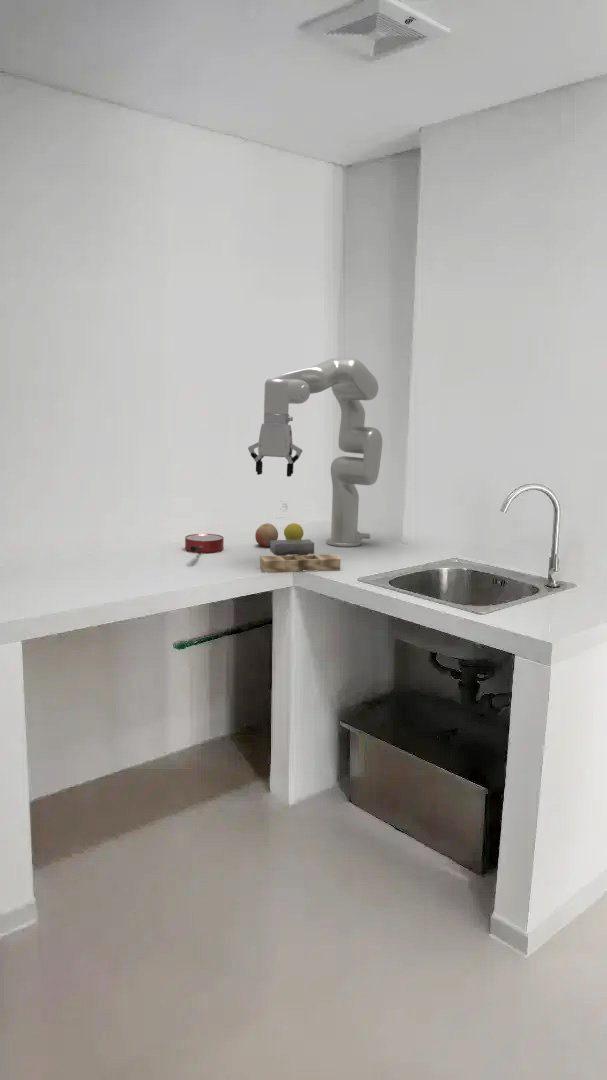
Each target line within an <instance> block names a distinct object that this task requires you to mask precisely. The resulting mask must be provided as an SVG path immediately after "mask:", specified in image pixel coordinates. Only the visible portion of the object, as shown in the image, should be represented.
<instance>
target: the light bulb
mask: <svg viewBox="0 0 607 1080" xmlns="http://www.w3.org/2000/svg"><path fill="white" fill-rule="evenodd" d="M283 535H284V537H285V540H303V539H302V538H303V537H304V529H303V527H302V526H301V525H300V524H298V523H293V522H292V523H289V524H287V525H286V527H285V528H284V531H283Z"/></svg>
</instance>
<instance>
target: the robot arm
mask: <svg viewBox="0 0 607 1080" xmlns="http://www.w3.org/2000/svg"><path fill="white" fill-rule="evenodd" d="M378 383H379V382H378V380H377V378H376V377H375V375H374V374H373V373H372V372H371V371H370V369H368V367H366V365H364V363H363V362H361V361H360V360H359V359H356V358H349V357H348V358H345V357H344V358H341V357H340V358H339V357H338V358H336V357H334V358H330V359H327V360H324V361H323V362H320V363H318V364H315V365H314V366H311V367H308V368H302V369H300V370H299V369H298V370H296V371H290V372H287V373H283V374H280V375H278V376H275V377H274V378H268V379H266V380H265V383H264V398H263V399H264V402H263V423H261V426H260V430H259V436H258V441H257V442H256V443H254V444H252V445H249V446H248V447H247V450H248V452H249V454H250V456H251V458H252V459H253V460H254V462H255V472H256V475H262V474H263V461H262V460H263V458H264V457H272V458H273V457H274V458H275V457H276V458H285V459H286V461H287V464H286V477H292V475H293V474H294V464H295V463H296V462H297V460H299V458H300V456H301V454H302V453H303V449H302V448H300V447H298V446H297V445H295V444H293V431H292V426H291V424H289V423H290V422H293V420H294V418H293V416H290V414H289V406H290V405H289V404H292V405H296V404H297V405H300V404H303V403H305V402H307V401H308V399H309V398H310V396H311V394H318V393H321V392H324V391H326V390H327V389H330V388H331V391H332V394H333V395H334V397H335V399H336V401H337V402H338V404H339V407H340V412H341V414H340V425H339V430H338V431H339V432H338V433H339V434H338V442H337V443H338V449H340V451H342V452H343V453H349V454H359V455H363V457H357V456H346V455H344V456H339V457H338V456H337V457H336V458H334V459H333V460H332V462H331V463H330V464H331V465H330V477H331V483H332V498H331V499H332V500H331V504H332V505H331V525H330V527H331V528H330V529H331V531H330V538H329V537H328V538H327V539H326V544H327V545H330V546H335V547H343V548H344V547H345V548H346V547H348V548H349V547H358V546H361V545H362V539H368V540H369V539H371V534H370V532H369V533H365V532H360V531H358V527H359V526H358V525H359V524H358V522H359V506H360V505H359V504H360V503H359V502H360V496H359V492H358V489H357V487H356V485H359V486H372V485H374V484H375V483H376V482H377V480H378V478H379V473H380V466H381V459H382V458H381V457H382V450H383V437H382V434H381V431H380V430H379V429H378V428H375V427H372V426H371V427H370V426H365V422H366V421H365V420H366V411H365V408H364V406H363V404H362V402H361V401H371V400H374V399H375V398H376V397H377V395H378V393H379V384H378ZM255 449H258V450H257V452H258V454H257V453H256V452H255ZM293 451H295V455H294V456H292V455H293Z"/></svg>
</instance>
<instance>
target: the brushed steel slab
mask: <svg viewBox="0 0 607 1080" xmlns="http://www.w3.org/2000/svg"><path fill="white" fill-rule="evenodd" d="M269 547H270V552H271V553H272V554H273V556H289V555H315V542H314V541H312V540H310V539H301V540H286V539H277V540H271V541H270V546H269Z"/></svg>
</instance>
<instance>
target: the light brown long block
mask: <svg viewBox="0 0 607 1080" xmlns="http://www.w3.org/2000/svg"><path fill="white" fill-rule="evenodd" d="M259 569H261V570H262V572H263V573H265V572H267V573H289V572H292V573H293V572H304V571H303V570H327V571H341V557H338V556H337V555H335V554H333V553H330V554H325V553H324V554H308V555H297V554H294V555H287V556H276V555H265V556H264V555H260V556H259Z"/></svg>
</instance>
